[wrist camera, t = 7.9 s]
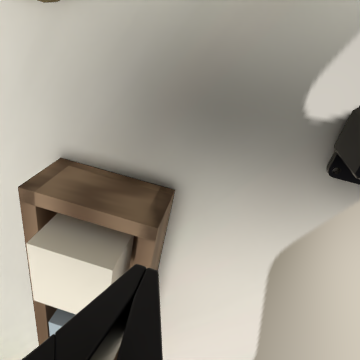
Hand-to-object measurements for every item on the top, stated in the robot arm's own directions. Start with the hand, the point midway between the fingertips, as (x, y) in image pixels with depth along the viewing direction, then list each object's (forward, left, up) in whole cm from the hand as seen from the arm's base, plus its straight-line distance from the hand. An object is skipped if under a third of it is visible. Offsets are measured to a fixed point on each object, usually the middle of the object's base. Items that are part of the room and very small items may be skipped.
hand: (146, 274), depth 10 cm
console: (+6, +15, -12) cm, 20 cm away
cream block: (+6, +10, -9) cm, 14 cm away
